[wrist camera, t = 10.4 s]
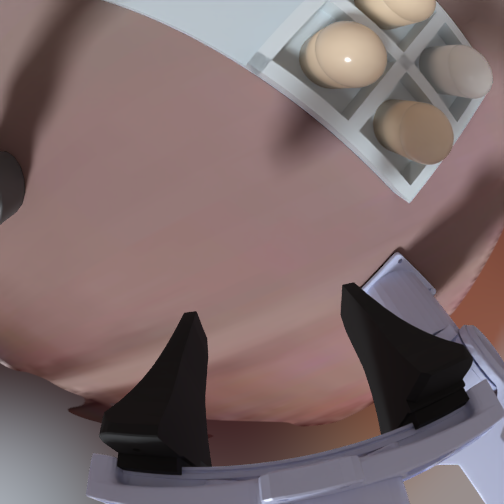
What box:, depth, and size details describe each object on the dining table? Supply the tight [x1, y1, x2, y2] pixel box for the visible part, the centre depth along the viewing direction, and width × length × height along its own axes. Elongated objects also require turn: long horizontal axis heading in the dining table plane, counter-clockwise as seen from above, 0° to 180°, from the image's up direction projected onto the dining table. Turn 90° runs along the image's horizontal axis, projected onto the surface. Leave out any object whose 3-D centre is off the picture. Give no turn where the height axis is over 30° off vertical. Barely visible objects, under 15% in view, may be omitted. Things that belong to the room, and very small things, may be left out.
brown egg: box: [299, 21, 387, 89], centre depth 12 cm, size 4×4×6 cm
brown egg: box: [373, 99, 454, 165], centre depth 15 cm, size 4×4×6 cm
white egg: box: [419, 45, 493, 99], centre depth 12 cm, size 4×4×6 cm
